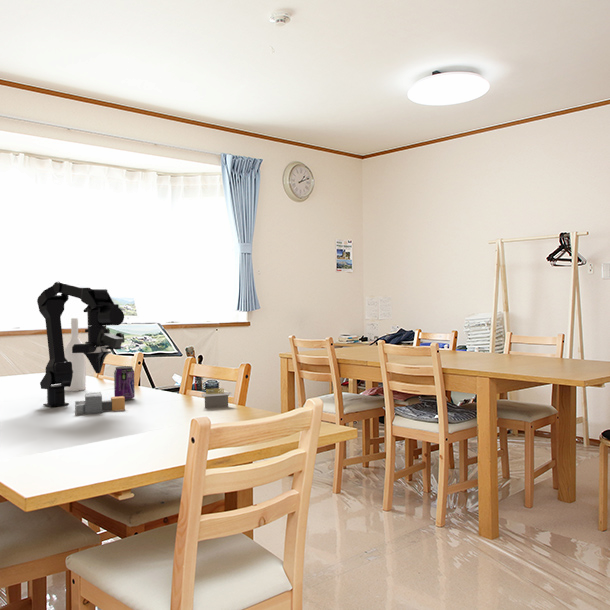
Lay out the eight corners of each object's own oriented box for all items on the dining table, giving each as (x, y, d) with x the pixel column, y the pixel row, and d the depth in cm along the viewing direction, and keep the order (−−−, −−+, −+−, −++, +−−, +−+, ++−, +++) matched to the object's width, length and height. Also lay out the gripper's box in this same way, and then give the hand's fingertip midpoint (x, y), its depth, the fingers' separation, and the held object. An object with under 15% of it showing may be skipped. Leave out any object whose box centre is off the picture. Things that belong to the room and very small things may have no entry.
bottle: (63, 391, 239) (62, 318, 239) (67, 388, 246) (66, 318, 247) (84, 390, 240) (83, 318, 240) (87, 388, 248) (86, 318, 248)
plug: (79, 413, 187) (79, 401, 187) (79, 411, 191) (79, 399, 191) (124, 409, 193) (124, 397, 193) (123, 408, 196) (123, 396, 196)
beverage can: (128, 401, 211) (128, 368, 211) (110, 400, 212) (110, 367, 212) (138, 398, 218) (137, 366, 218) (120, 397, 219) (120, 366, 219)
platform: (186, 407, 197) (185, 388, 197) (237, 403, 204) (237, 385, 204) (192, 413, 186) (192, 392, 186) (246, 409, 193) (246, 389, 193)
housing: (75, 415, 184) (74, 397, 184) (75, 410, 193) (75, 393, 193) (102, 413, 187) (101, 395, 187) (101, 408, 196) (100, 391, 196)
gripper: (101, 326, 180) (102, 376, 180) (134, 324, 198) (135, 370, 198) (70, 326, 183) (71, 376, 183) (105, 325, 201) (106, 370, 201)
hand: (98, 373), depth 191 cm, fingers closed
